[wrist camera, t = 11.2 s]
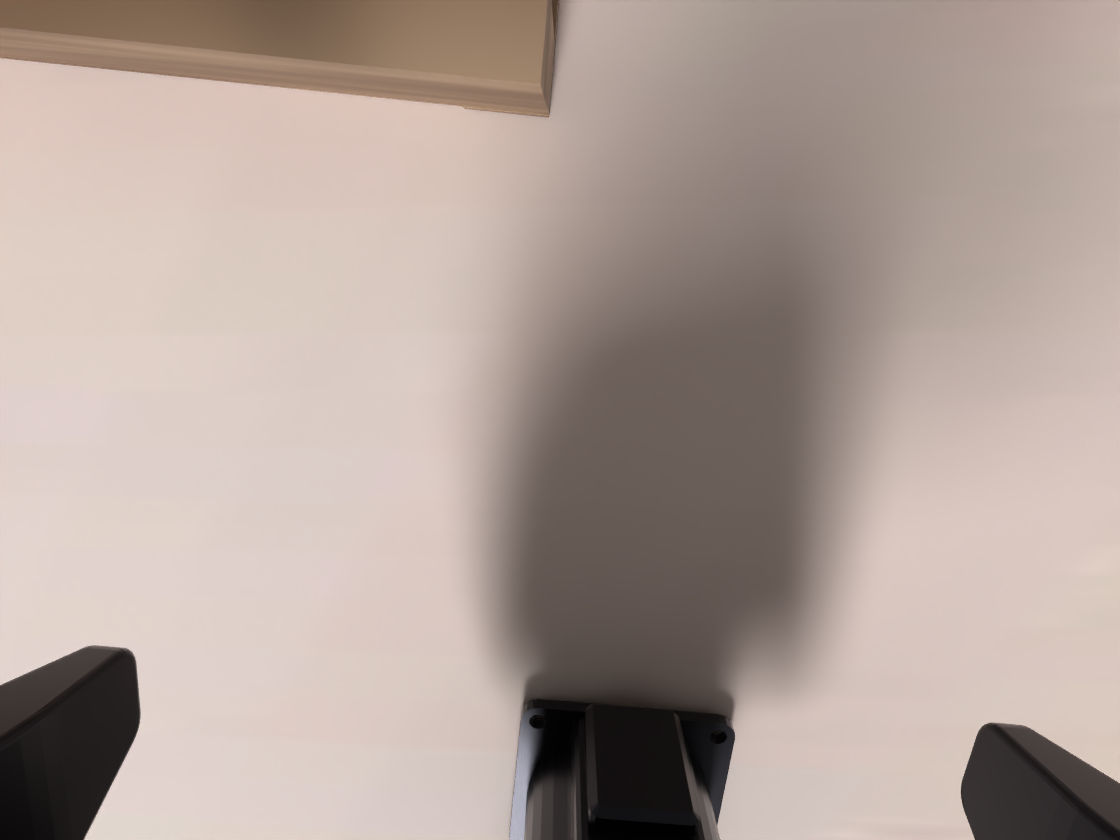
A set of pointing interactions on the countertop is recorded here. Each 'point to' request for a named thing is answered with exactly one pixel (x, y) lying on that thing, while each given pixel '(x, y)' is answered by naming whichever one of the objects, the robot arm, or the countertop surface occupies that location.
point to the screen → (308, 45)
